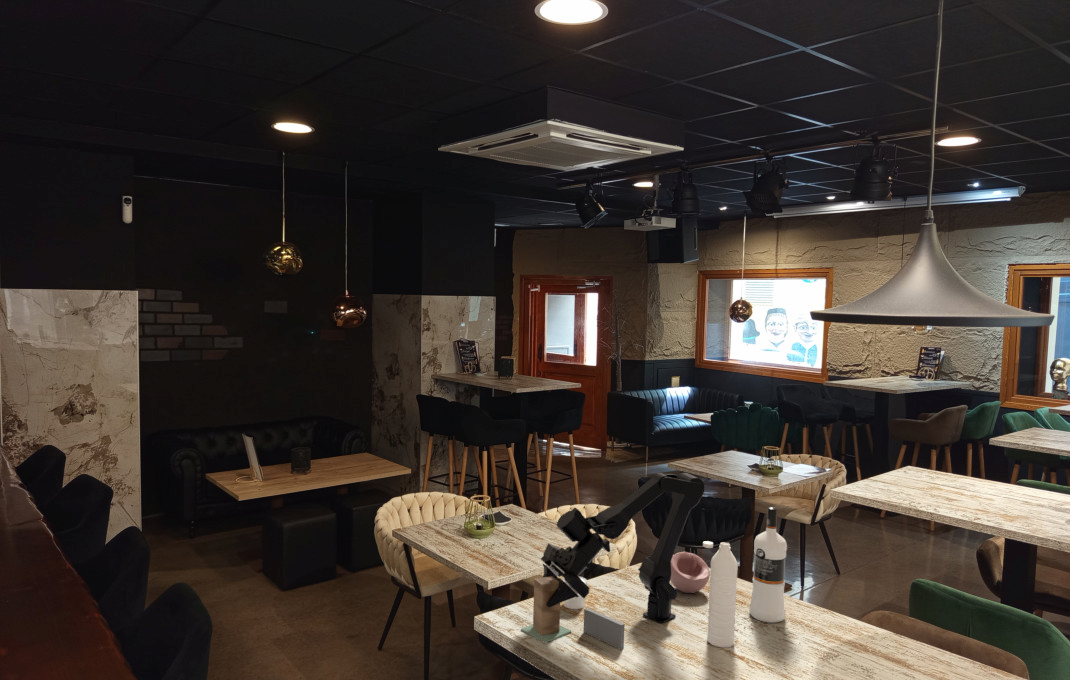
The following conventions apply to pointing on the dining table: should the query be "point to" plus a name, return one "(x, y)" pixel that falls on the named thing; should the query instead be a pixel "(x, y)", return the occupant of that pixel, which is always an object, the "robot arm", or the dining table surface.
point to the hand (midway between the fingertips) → (542, 600)
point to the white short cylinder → (575, 599)
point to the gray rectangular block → (604, 628)
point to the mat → (547, 637)
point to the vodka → (769, 573)
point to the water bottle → (722, 596)
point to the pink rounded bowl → (689, 572)
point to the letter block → (545, 606)
